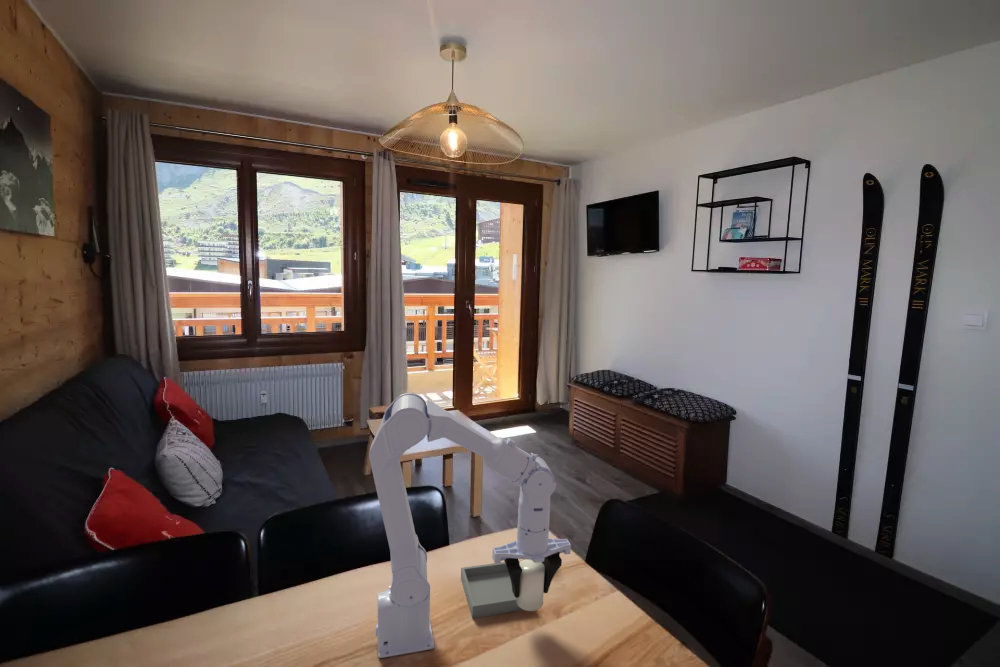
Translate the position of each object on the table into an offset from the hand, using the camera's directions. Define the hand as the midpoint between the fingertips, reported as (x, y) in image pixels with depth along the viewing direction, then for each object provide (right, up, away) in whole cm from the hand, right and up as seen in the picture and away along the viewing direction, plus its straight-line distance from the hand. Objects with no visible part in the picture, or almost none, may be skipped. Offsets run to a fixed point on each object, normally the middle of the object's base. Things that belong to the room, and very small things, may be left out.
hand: (529, 591), depth 91 cm
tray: (-7, -5, +10) cm, 13 cm away
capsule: (0, -2, 0) cm, 2 cm away
